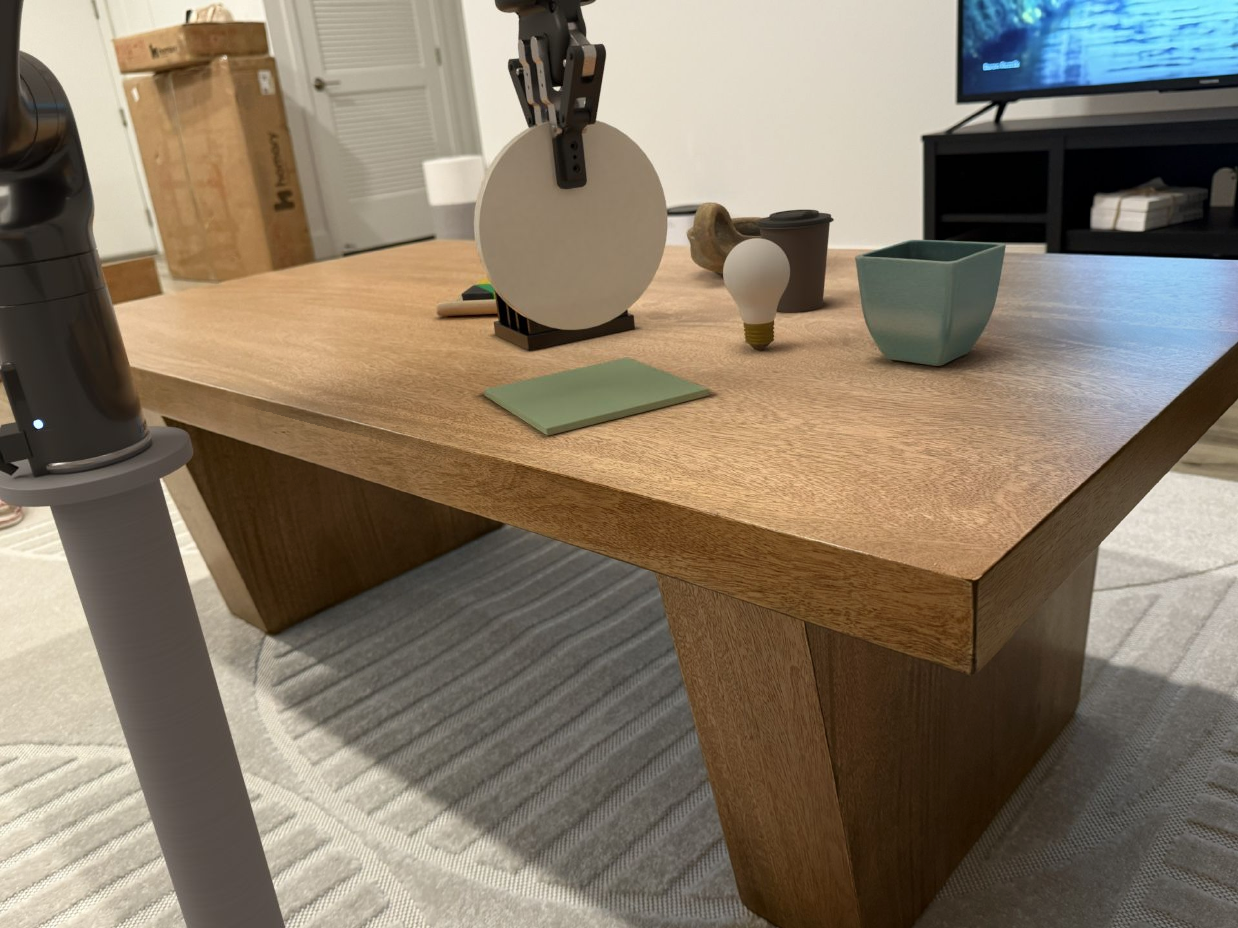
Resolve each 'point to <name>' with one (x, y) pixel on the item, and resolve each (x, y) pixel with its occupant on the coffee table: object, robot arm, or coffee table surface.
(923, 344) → the flower pot
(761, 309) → the light bulb
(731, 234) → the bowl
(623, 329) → the rack
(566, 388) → the mat
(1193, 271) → the coffee table surface
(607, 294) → the plate
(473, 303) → the wooden puzzle
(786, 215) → the coffee cup
